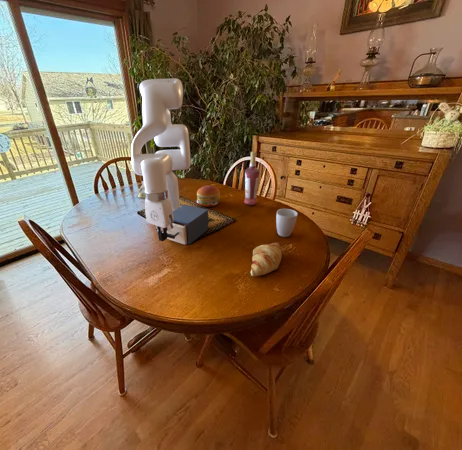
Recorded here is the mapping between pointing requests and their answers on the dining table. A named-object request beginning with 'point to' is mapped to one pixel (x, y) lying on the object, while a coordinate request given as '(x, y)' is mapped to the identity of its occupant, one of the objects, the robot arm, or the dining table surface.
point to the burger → (208, 196)
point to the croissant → (266, 258)
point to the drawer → (178, 233)
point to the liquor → (251, 182)
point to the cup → (285, 221)
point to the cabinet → (192, 220)
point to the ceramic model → (142, 192)
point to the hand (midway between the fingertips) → (163, 239)
